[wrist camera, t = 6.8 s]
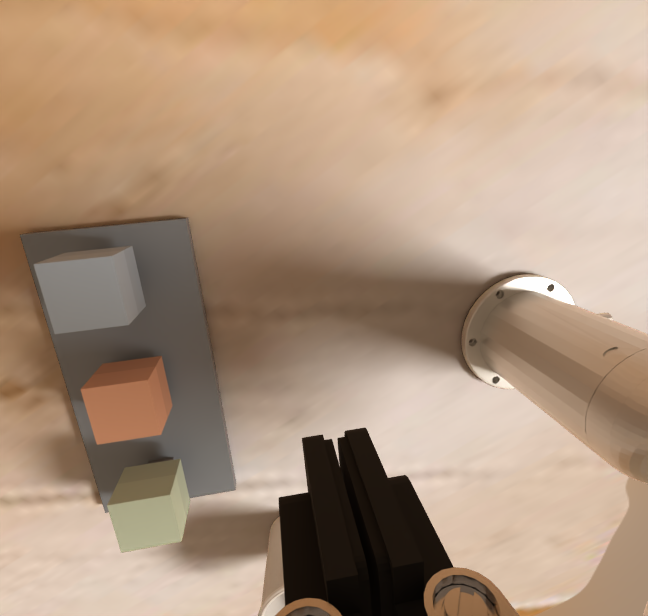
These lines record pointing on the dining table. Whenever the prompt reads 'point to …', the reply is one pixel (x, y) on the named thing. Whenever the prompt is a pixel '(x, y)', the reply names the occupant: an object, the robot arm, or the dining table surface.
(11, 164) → the dining table surface
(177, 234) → the button board
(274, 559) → the dixie cup
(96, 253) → the button slate
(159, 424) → the button terracotta
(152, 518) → the button sage
